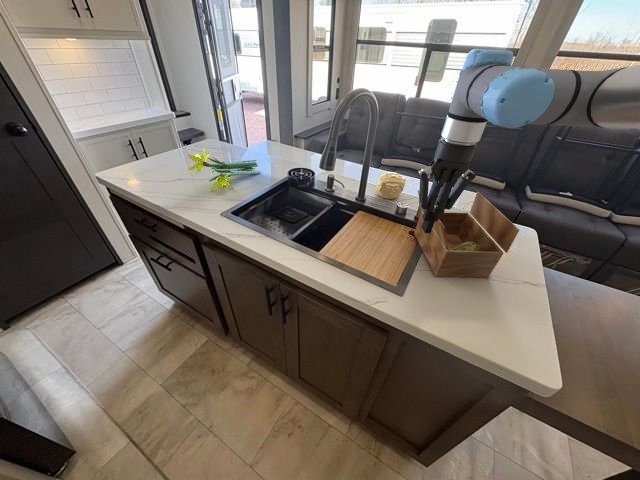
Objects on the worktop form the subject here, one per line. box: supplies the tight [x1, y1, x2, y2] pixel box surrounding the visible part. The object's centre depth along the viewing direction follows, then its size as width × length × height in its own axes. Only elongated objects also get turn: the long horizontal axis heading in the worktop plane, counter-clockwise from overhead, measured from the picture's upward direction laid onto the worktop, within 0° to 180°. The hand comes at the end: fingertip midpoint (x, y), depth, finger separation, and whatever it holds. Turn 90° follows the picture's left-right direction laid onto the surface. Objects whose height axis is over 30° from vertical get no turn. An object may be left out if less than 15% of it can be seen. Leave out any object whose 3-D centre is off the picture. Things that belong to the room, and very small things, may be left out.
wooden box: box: [413, 191, 520, 278], centre depth 78 cm, size 21×17×17 cm
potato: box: [448, 242, 483, 251], centre depth 76 cm, size 8×13×8 cm, turn 81°
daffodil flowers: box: [187, 145, 261, 192], centre depth 113 cm, size 17×15×35 cm
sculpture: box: [375, 171, 406, 200], centre depth 111 cm, size 12×12×11 cm
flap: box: [417, 189, 448, 250], centre depth 75 cm, size 21×8×1 cm
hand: (425, 230), depth 68 cm, fingers closed
